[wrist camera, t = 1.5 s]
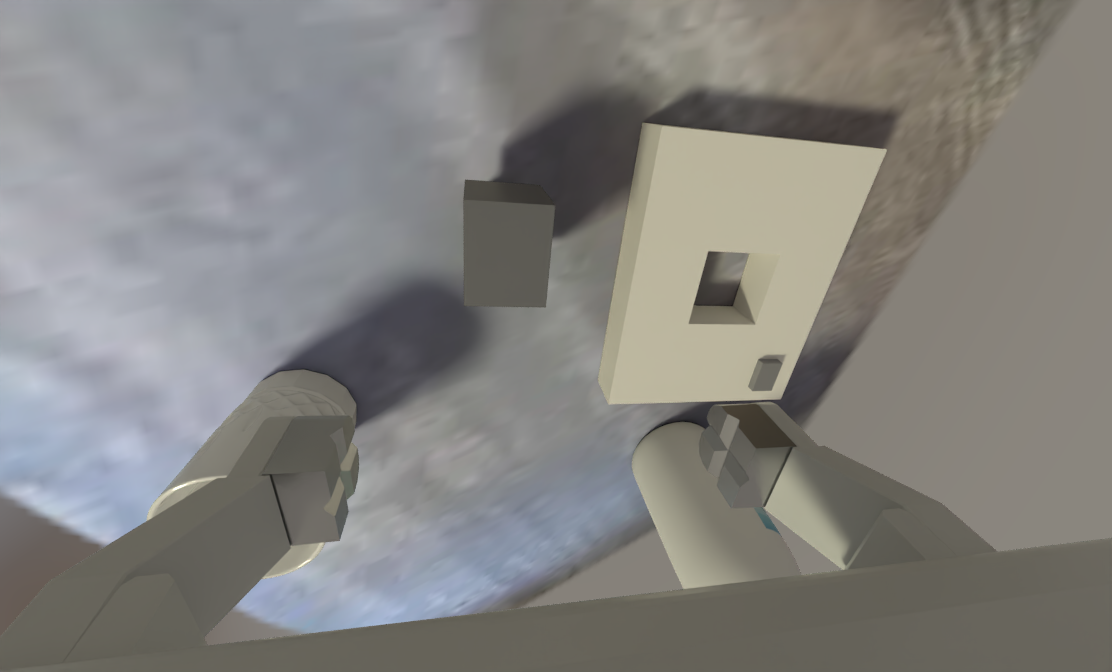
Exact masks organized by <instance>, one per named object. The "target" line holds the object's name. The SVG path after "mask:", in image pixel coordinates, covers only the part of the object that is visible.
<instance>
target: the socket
mask: <svg viewBox="0 0 1112 672" xmlns="http://www.w3.org/2000/svg"><path fill="white" fill-rule="evenodd" d="M886 151H887V149H880V148H872V147H865V146H857V145H850V144H841V143H831V142H822V141H813V140H803V139H794V138H784V137H775V136H765V135H756V134H746V133H737V132H727V131H718V130H709V129H699V128H690V127H680V126H671V125H661V124H652V123H642V128H641V133H640V139H639V145H638V151H637V157H636V162H635V168H634V174H633V180H632V186H631V191H630V197H629V203H628V209H627V215H626V220H625V226H624V232H623V238H622V243H621V249H620V255H619V261H618V267H617V272H616V278H615V284H614V290H613V296H612V301H611V307H610V313H609V319H608V325H607V330H606V336H605V342H604V348H603V354H602V359H601V365H600V371H599V377H598V382H599V384H600V386H601V388H602V391H603V393H604V395H605V398H606V400H607V402H608V404H635V403H670V402H706V401H741V400H777V399H781V397H782V395H783V393H784V390H785V388H786V386H787V383H788V381H789V379H790V376H791V374H792V372H793V369H794V367H795V365H796V362H797V360H798V358H799V355H800V353H801V351H802V348H803V346H804V343H805V341H806V339H807V336H808V334H809V332H810V329H811V327H812V325H813V322H814V320H815V318H816V315H817V313H818V311H819V308H820V306H821V304H822V301H823V299H824V297H825V294H826V292H827V289H828V287H829V285H830V282H831V280H832V278H833V275H834V273H835V271H836V268H837V266H838V264H839V261H840V259H841V257H842V254H843V252H844V250H845V247H846V245H847V243H848V240H849V238H850V236H851V233H852V231H853V228H854V226H855V224H856V221H857V219H858V217H859V214H860V212H861V210H862V207H863V205H864V203H865V200H866V198H867V196H868V193H869V191H870V189H871V186H872V184H873V182H874V179H875V177H876V175H877V172H878V170H879V167H880V165H881V163H882V160H883V158H884V156H885V153H886ZM708 251H717V252H739V253H750V254H749V257H748V260H747V263H746V266H745V270H744V273H743V276H742V279H741V282H740V285H739V288H738V291H737V295H736V298H735V301H734V304H733V306H695V305H694V302H695V298H696V294H697V291H698V287H699V283H700V280H701V276H702V272H703V269H704V265H705V261H706V258H707V254H708Z"/></svg>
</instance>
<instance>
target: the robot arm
mask: <svg viewBox="0 0 1112 672" xmlns="http://www.w3.org/2000/svg"><path fill="white" fill-rule="evenodd" d="M707 420H708V422H709V424H710V426H708V427H707V428H706V429H705V430H704V431H703V432H702V434H701V437H700V441H699V454H700V458H701V460H702V463H703V465H704V467H705V468H706V470H707V471H708V472H709V473H711V474H712V475H714V476H715V477H717V478H718V480H717V487H718V489H719V491H720V492H721V494H722V495H723V497H724V498H725V500H726V501H727V503H728V505H729V506H730V508H731V509H735V508H754V507H765V509H766V510H767V511H768V512H769V513H771V514H772V515H773V516H774V517H776V518H777V519H778V520H780V521H781V522H782V523H783V524H785V525H786V526H787V527H788V528H790V529H791V530H792V531H794V532H795V533H796V534H798V535H799V536H800V537H801V538H803V539H804V540H805V541H806V542H808V543H809V544H810V545H812V546H813V547H814V548H816V549H817V550H818V551H819V552H821V553H822V554H823V555H824V556H826V557H827V558H829V560H831V561H832V562H834V563H835V564H836V565H837V566H839V567H840V568H841V569H842V570H839V571H830V572H822V573H813V574H806V575H796V576H788V577H780V578H772V579H763V580H755V581H747V582H738V583H730V584H722V585H713V586H705V587H697V588H689V589H681V590H672V591H665V592H656V593H647V594H638V595H630V596H622V597H613V598H605V599H596V600H587V601H579V602H571V603H562V604H553V605H546V606H537V607H528V608H520V609H511V610H503V611H494V612H486V613H477V614H469V615H461V616H452V617H444V618H435V619H427V620H419V621H410V622H402V623H393V624H385V625H376V626H368V627H360V628H351V629H343V630H334V631H326V632H318V633H309V634H301V635H292V636H284V637H276V638H267V639H259V640H250V641H242V642H234V643H225V644H217V645H209V646H208V645H207V643H206V641H205V639H204V637H205V636H206V635H207V634H208V633H209V632H210V631H211V630H212V629H213V628H214V627H215V626H216V625H217V624H218V623H219V622H220V621H221V620H222V619H223V618H224V617H225V616H226V615H227V614H228V613H229V612H230V611H231V610H232V608H233V607H234V606H235V605H236V604H237V603H238V602H239V601H240V600H241V599H242V598H243V597H244V596H245V595H246V594H247V593H248V592H249V591H250V590H251V589H252V588H253V587H254V586H255V585H256V584H257V583H258V582H259V581H260V580H261V579H262V578H263V577H264V576H265V575H266V574H267V573H268V572H269V571H270V570H271V569H272V567H273V566H274V565H275V564H276V563H277V562H278V561H279V560H280V559H281V558H282V557H283V556H284V555H285V554H286V553H287V552H288V551H289V550H290V549H291V547H290V546H295V545H305V544H314V543H323V542H332V541H340V538H341V535H342V531H343V528H344V525H345V522H346V518H347V515H348V512H349V511H348V506H347V499H348V498H349V497H350V496H352V495H353V494H354V492H355V488H356V484H357V480H358V472H359V455H358V448H357V447H356V446H355V445H354V444H353V443H351V441H352V438H353V435H354V432H355V429H354V424H353V419H352V418H351V417H350V416H297V417H295V416H284V417H269V418H267V419H265V420H264V421H263V422H262V423H261V425H260V426H259V428H258V429H257V431H256V432H255V434H254V436H253V437H252V439H251V440H250V442H249V443H248V445H247V446H246V448H245V449H244V451H243V452H242V454H241V455H240V457H239V458H238V460H237V461H236V463H235V465H234V466H233V468H232V469H231V471H230V472H229V474H228V475H227V477H226V478H216V479H215V480H213V481H211V482H210V483H208V484H206V485H205V486H203V487H202V488H200V489H198V490H197V491H195V492H193V493H192V494H190V495H189V496H187V497H185V498H184V499H182V500H180V501H179V502H177V503H176V504H174V505H172V506H171V507H169V508H167V509H166V510H164V511H162V512H161V513H159V514H158V515H156V516H154V517H153V518H151V519H149V520H148V521H146V522H145V523H143V524H141V525H140V526H138V527H136V528H135V529H133V530H132V531H130V532H128V533H127V534H125V535H123V536H122V537H120V538H119V539H117V540H115V541H114V542H112V543H110V544H109V545H107V546H106V547H104V548H102V549H101V550H99V551H98V552H96V553H94V554H93V555H91V556H89V557H88V558H86V559H84V560H83V561H81V562H79V563H78V564H77V565H75V566H73V567H71V568H70V569H68V570H66V571H65V572H63V573H62V574H60V575H58V576H57V577H55V578H53V579H52V580H50V581H49V582H48V583H47V584H46V585H45V586H44V587H43V589H42V590H41V591H40V592H39V593H38V594H37V595H36V597H35V598H34V599H33V600H32V601H31V602H30V603H29V604H28V606H27V607H26V608H25V609H24V610H23V611H22V612H21V614H20V615H19V616H18V617H17V618H16V619H15V620H14V622H13V623H12V624H11V625H10V626H9V627H8V629H6V631H5V632H4V633H3V634H2V635H1V636H0V672H1112V538H1108V539H1100V540H1091V541H1083V542H1074V543H1067V544H1058V545H1050V546H1041V547H1033V548H1025V549H1016V550H1008V551H1000V552H998V551H996V550H995V549H994V548H993V547H992V546H990V545H989V544H988V543H987V542H986V541H985V540H984V539H982V538H981V537H980V536H979V535H978V534H977V533H976V532H974V531H973V530H972V529H971V528H970V527H968V526H967V525H966V524H965V523H964V522H963V521H962V520H960V519H959V518H958V517H957V516H956V515H955V514H953V513H952V512H951V511H950V510H949V509H948V508H947V507H945V506H944V505H943V504H942V503H940V502H938V501H936V500H934V499H932V498H930V497H928V496H926V495H924V494H922V493H920V492H918V491H916V490H914V489H912V488H910V487H907V486H905V485H903V484H901V483H899V482H897V481H895V480H893V479H891V478H889V477H887V476H885V475H883V474H880V473H879V472H877V471H875V470H873V469H871V468H869V467H867V466H864V465H863V464H860V463H858V462H856V461H854V460H852V459H850V458H848V457H846V456H844V455H842V454H840V453H838V452H836V451H834V450H832V449H830V448H828V447H826V446H818V445H817V444H816V443H815V442H814V441H813V440H812V439H811V438H810V437H809V436H808V435H807V434H806V433H805V432H804V431H803V430H802V429H801V428H800V427H799V426H798V425H797V424H796V423H795V422H794V421H793V420H792V419H791V418H790V417H789V416H788V415H787V414H786V413H785V412H784V411H783V410H782V409H781V408H780V407H779V406H778V405H777V404H774V403H772V402H758V403H751V404H723V405H713V406H712V407H711V409H710V410H709V413H708V415H707Z"/></svg>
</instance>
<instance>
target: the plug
mask: <svg viewBox="0 0 1112 672" xmlns="http://www.w3.org/2000/svg"><path fill="white" fill-rule="evenodd" d="M463 201H464V306H495V307H546V299H547V289H548V278H549V268H550V257H551V246H552V236H553V225H554V215H555V204H554V203H553V202H552V200H551V199H550V198H549V196H548V195H547V194H546V192H545V191H544V190H543V188H542V187H541V186H540V185H532V184H518V183H504V182H490V181H477V180H465V187H464V200H463Z"/></svg>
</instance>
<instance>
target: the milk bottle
mask: <svg viewBox="0 0 1112 672" xmlns="http://www.w3.org/2000/svg"><path fill="white" fill-rule="evenodd" d="M704 430H705V428H703V427H701V426H699V425H697V424H694V423H691V422H675V423H670V424H666V425H664V426H661V427H659V428H657V429H655V430H654V431H652V432H651V433H649V434H648V435H647V436H645V437H644V438H643V440H641V441H640V443H639V444H638V446H637V447H636V449H635V452H634V454H633V459H632V470H633V473H634V476H635V479H636V481H637V484H638V486H639V488H640V491H641V493H642V496H643V498H644V500H645V503H646V505H647V507H648V510H649V512H650V514H651V517H652V519H653V521H654V524H655V526H656V528H657V531H658V533H659V535H660V538H661V540H662V542H663V545H664V547H665V549H666V551H667V554H668V556H669V558H670V560H671V563H672V565H673V567H674V569H675V572H676V574H677V576H678V578H679V580H680V582H681V584H682V587H683V589H689V588H697V587H705V586H713V585H722V584H730V583H738V582H747V581H755V580H763V579H772V578H780V577H788V576H796V575H801V572H800V569H799V567H798V565H797V563H796V560H795V558H794V557H793V555H792V553H791V551H790V549H789V547H788V546H787V544H786V543H785V541H784V539H783V538H782V536H781V535H780V533H779V532H778V530H777V528H776V527H775V525H774V524H773V523H772V521H771V519H770V518H769V516H768V515H767V514H766V512H765V511H764V509H763V508H762V507H754V508H735V509H731V508H730V506H729V505H728V503H727V501H726V500H725V498H724V497H723V495H722V494H721V492H720V491H719V489H718V487H717V480H718V478H717V477H715V476H714V475H712V474H711V473H709V472H708V471H707V470H706V468H705V467H704V465H703V463H702V460H701V458H700V454H699V441H700V437H701V434H702V432H703V431H704Z"/></svg>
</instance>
